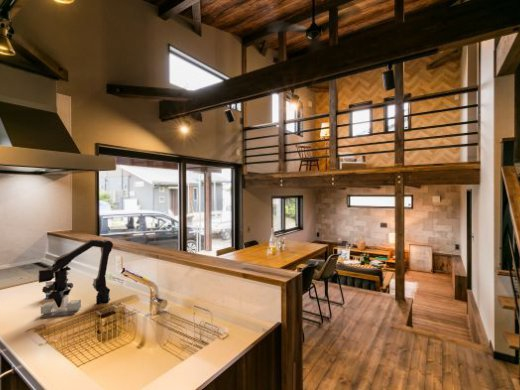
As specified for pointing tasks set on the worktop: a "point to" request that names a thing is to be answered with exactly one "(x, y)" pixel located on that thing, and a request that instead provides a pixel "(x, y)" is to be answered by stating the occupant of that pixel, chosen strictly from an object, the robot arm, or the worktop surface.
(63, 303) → the logic module
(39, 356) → the worktop surface
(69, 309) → the din rail
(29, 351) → the worktop surface
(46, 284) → the ink box
